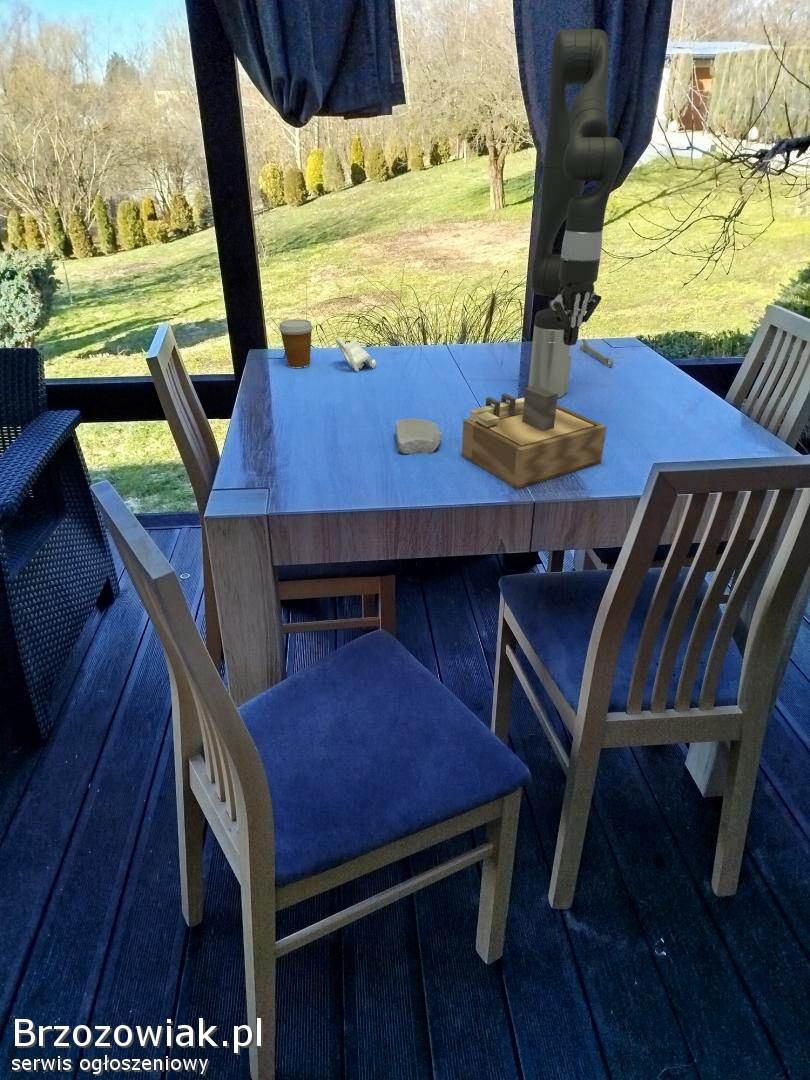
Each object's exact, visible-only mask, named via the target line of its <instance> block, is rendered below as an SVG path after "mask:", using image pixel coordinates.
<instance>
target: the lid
mask: <svg viewBox="0 0 810 1080" xmlns="http://www.w3.org/2000/svg"><path fill="white" fill-rule="evenodd" d="M524 397H525V398H524ZM524 397H523V398H524V409H523V414H521V415H517V416H513V417H509V418H505V419H501V420H499V424H495V425H491V426H485V425H483V424H482V426H483V427H485V428H487V429H489V430H491V431H493V432H494V433H496V434H498V435H500V436H502V437H504V438H506V439H508V440H510V441H511V442H513V443H515V444H517V445H519V446H521V447H523V446H527V445H530V444H534V443H538V442H541V441H545V440H549V439H552V438H556V437H559V436H563V435H567V434H570V433H574V432H577V431H581V430H585V429H588V428H592V427H594V425H592V424H590V423H588V422H585V421H583V420H581V419H579V418H576V417H574V416H572V415H569V414H567V413H565V412H563V411H560V410H558V409H556V406H557V405H558V399H559V398H558V394H557V393H554V392H552V391H550V390H547V389H545V388H542V387H540V386H538V385H536V386H532V387H525V390H524Z"/></svg>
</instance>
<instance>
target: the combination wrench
mask: <svg viewBox="0 0 810 1080" xmlns="http://www.w3.org/2000/svg"><path fill="white" fill-rule="evenodd" d="M581 341H582V343H583V344H582V345H579V350H580V352H585V353H586V352H587V353H589V354H591V355H592V356H594V357H595V358H596V359H598V360H599V361H600V362H602V363H603V364H604V366H605V367H606V366H609V367H610V368H612V367H613V365H614V359H613V358H612V357H606V356H604V355H603V354H601V353H600V352H599V351H597V350H595V349H593V348H592V347H591V346H589V344H588V340H587V339H585V338H581ZM609 364H610V365H609Z"/></svg>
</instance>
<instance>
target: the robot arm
mask: <svg viewBox="0 0 810 1080" xmlns="http://www.w3.org/2000/svg"><path fill="white" fill-rule="evenodd" d="M609 65H610V43H609V38H608V35H607V33H606V31H604V30H602V29H599V28H598V29H597V28H590V29H589V28H585V29H583V28H580V29H577V28H576V29H575V28H574V29H561V30H559V31H558V32H557V33H556V35H555V36H554V39H553V43H552V49H551V58H550V73H549V75H550V77H549V79H550V80H549V82H550V83H549V103H548V120H547V121H548V124H547V132H546V133H547V134H546V140H545V141H546V142H545V150H544V158H543V167H542V181H541V196H540V197H541V198H540V210H539V211H540V213H539V223H538V230H537V237H536V244H535V250H534V258H533V264H532V270H531V288H532V291H533V293H534V294H536V295H540V296H548V297H554V299H549V300H548V302H547V305H548V307H549V308H544V309H540V310H539V311H537V312H535V313H536V314H535V316H534V323H533V335H532V343H531V344H532V345H531V355H530V366H529V367H530V368H529V376H528V387H532V386H536V385H538V386H540V387H542V388H545V389H547V390H550V391H552V392H554V393H557V394H558V398H557V399H559V398H562V397H563V396H564V395H565V394H567V393H568V390H569V389H568V387H569V382H570V381H569V380H570V374H571V372H570V371H571V365H572V356H571V355H570V351H571V346H576V345H577V342H578V339H579V332H580V331H579V330H580V327H582V324H583V323H588V321H589V319H590V318H591V317H592V315H593V313H594V312H595V310H596V309H597V307H598V305H599V304H600V302H601V300H602V296H601V295H597V294H596V292H595V283H596V282H597V280H598V276H599V275H598V274H599V268H600V262H601V253H602V247H603V231H604V225H605V224H604V223H605V216H606V209H607V204H608V201H609V198H610V195H611V192H612V188H613V186H614V184H615V182H616V179H617V177H618V174H619V172H620V170H621V168H622V167H621V166H622V164H623V161H624V148H623V144H622V142H621V141H620V139H618V138H617V137H613V136H612V137H611V136H610V137H609V132H610V124H609V123H610V121H609V116H608V107H607V93H608V83H609V82H608V80H609ZM568 85H569V86H572V85H573V86H577V85H578V86H580V85H581V86H583V85H584V86H583V87H582V88H581V89H580V90H579V92H578V93H577V94H576V96H575V97H574V98H573V100H572V103H571V105H570V107H569V106H568V103H567V93H566V91H567V90H566V87H567V86H568ZM586 182H597V185H596V186H595V188H594V189H593V190H592V191H590V192H588V193H585V194H583V193H584V190H585V183H586ZM565 221H566V222H565ZM564 222H565V228H564V229H565V231H564V235H563V240H562V244H561V245H562V246H561V252H560V253H561V254H555V253H554V254H553V249H554V242H555V240H556V237H557V234H558V233H559V230H560V229H561V227H562V226H563V223H564ZM528 387H527V388H528Z"/></svg>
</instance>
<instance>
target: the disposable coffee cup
mask: <svg viewBox="0 0 810 1080" xmlns="http://www.w3.org/2000/svg"><path fill="white" fill-rule="evenodd" d="M313 329H314V326H313V325H312V322H311V321H310V320H307V319H301V318H296V319H286V320H283V321H280V323H279V327H278V330H279V333H280V335H281V340H282V344H283V348H284V353H285V358H286V362H287V367H289V366H290V367H304V366H307V365H309V364H310V365H311V350H312V349H311V348H312V347H311V346H312V333H313V332H312V331H313ZM290 367H289V368H290Z"/></svg>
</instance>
